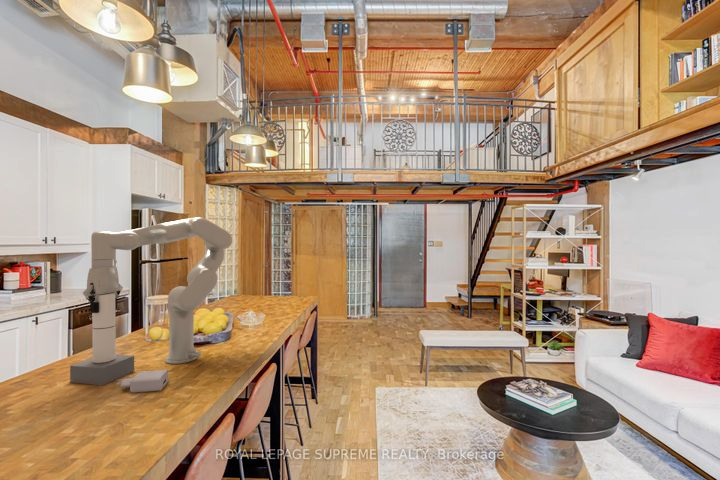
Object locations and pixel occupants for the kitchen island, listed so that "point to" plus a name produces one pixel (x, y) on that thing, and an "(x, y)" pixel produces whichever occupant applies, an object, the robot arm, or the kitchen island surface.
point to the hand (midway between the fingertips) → (104, 310)
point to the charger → (146, 381)
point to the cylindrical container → (104, 329)
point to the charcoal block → (101, 370)
